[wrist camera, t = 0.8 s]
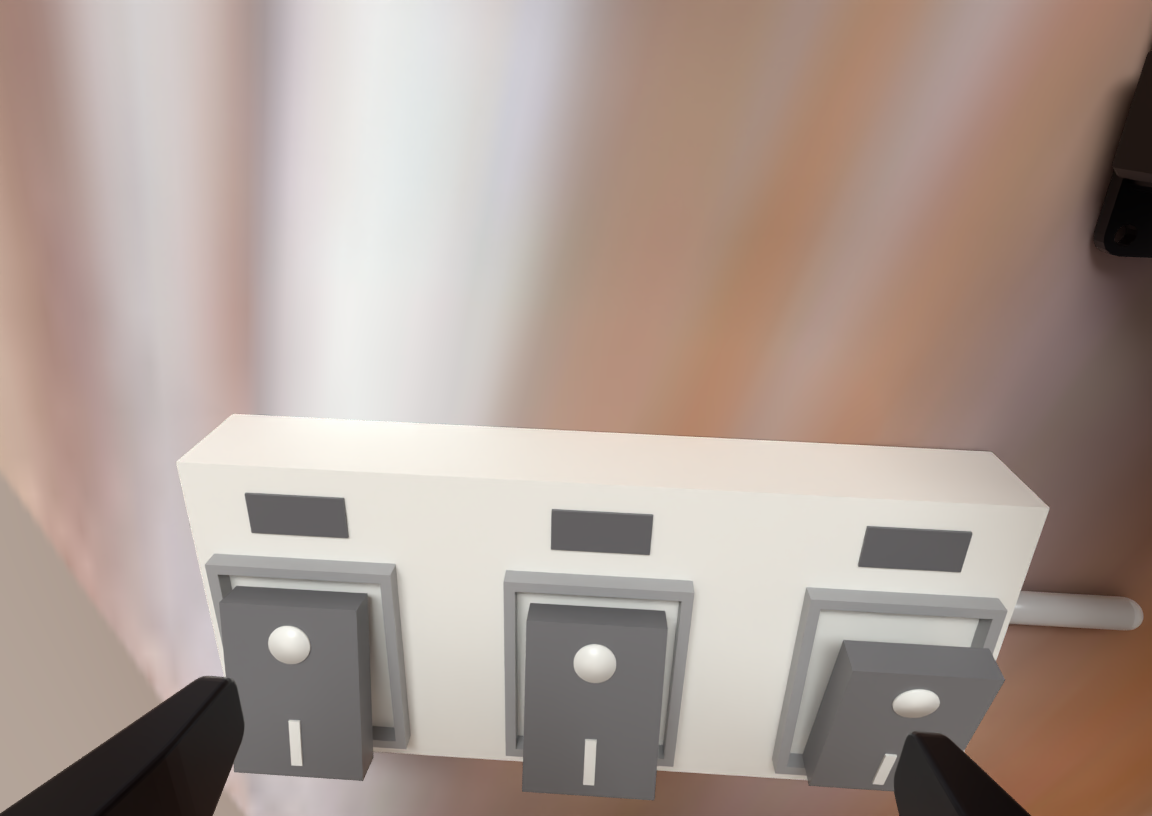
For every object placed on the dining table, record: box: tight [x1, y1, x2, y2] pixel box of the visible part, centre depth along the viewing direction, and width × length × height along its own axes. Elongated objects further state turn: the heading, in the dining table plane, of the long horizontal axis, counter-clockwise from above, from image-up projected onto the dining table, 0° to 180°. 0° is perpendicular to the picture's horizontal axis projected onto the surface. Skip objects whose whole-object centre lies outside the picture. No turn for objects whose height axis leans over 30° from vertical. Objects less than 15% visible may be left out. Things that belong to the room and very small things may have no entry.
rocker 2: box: [802, 640, 1005, 791], centre depth 19 cm, size 4×5×1 cm
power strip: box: [176, 414, 1143, 780], centre depth 21 cm, size 28×10×4 cm, turn 88°
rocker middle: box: [522, 603, 668, 800], centre depth 19 cm, size 4×5×1 cm
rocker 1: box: [219, 586, 373, 781], centre depth 20 cm, size 4×5×1 cm
